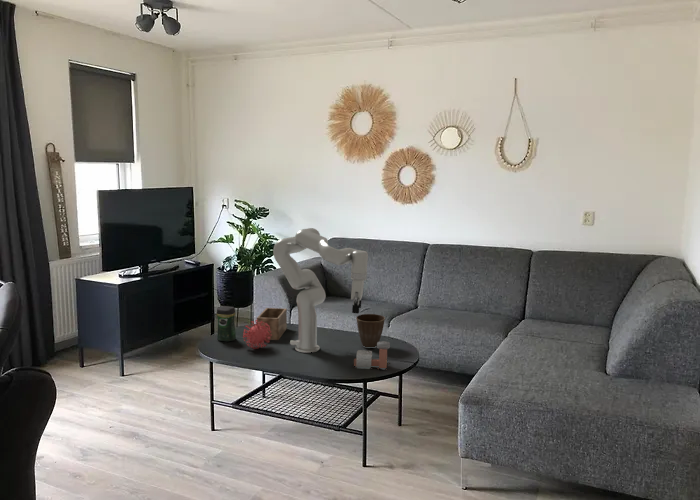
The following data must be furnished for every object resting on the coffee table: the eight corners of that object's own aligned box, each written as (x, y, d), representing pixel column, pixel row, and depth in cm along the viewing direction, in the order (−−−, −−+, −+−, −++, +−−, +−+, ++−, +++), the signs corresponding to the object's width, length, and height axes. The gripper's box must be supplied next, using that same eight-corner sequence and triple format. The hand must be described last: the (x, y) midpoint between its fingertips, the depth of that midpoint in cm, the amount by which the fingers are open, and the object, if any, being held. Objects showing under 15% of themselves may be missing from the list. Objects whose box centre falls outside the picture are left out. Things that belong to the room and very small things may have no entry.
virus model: (275, 344, 301) (274, 317, 299) (266, 353, 286) (266, 325, 284) (248, 343, 303) (247, 315, 301) (238, 351, 289) (238, 323, 286)
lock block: (356, 368, 267) (356, 354, 266) (357, 364, 274) (357, 350, 273) (371, 369, 267) (371, 355, 266) (371, 364, 273) (372, 350, 272)
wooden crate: (256, 339, 310) (256, 317, 308) (266, 327, 332) (266, 307, 330) (278, 340, 309) (278, 318, 307) (286, 328, 331) (286, 308, 329)
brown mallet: (353, 368, 267) (353, 344, 265) (354, 363, 274) (355, 339, 272) (389, 370, 266) (389, 345, 264) (389, 365, 273) (390, 341, 271)
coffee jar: (238, 338, 311) (237, 305, 308) (230, 342, 303) (230, 308, 300) (222, 336, 313) (221, 303, 311) (214, 340, 306) (214, 307, 303)
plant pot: (387, 350, 294) (388, 320, 292) (359, 352, 291) (359, 322, 289) (379, 342, 308) (380, 313, 306) (353, 343, 305) (353, 314, 303)
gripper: (353, 271, 283) (351, 305, 286) (348, 279, 266) (346, 314, 269) (368, 273, 282) (365, 306, 285) (364, 280, 265) (362, 316, 268)
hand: (356, 310), depth 277 cm, fingers open, 9 cm apart
